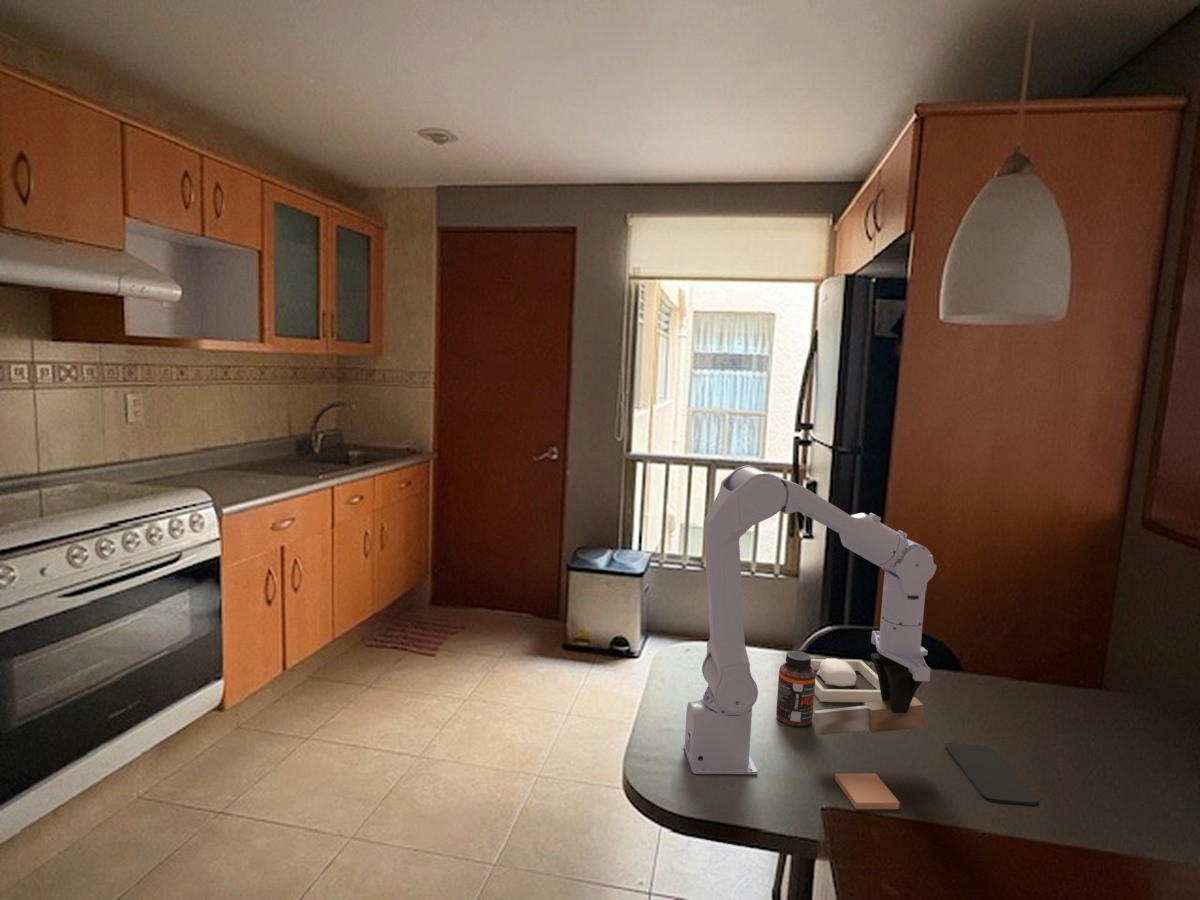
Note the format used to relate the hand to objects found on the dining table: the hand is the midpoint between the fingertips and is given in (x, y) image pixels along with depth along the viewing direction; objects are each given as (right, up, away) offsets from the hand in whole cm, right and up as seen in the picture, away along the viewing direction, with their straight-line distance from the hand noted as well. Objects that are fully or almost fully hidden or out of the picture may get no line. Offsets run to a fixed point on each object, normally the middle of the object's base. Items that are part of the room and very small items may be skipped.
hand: (894, 707), depth 105 cm
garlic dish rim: (+2, -6, +28) cm, 29 cm away
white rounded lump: (+2, -6, +30) cm, 31 cm away
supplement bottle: (-11, -7, +13) cm, 19 cm away
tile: (-8, -9, -4) cm, 12 cm away
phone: (+13, -10, -1) cm, 17 cm away
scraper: (-4, -3, 0) cm, 5 cm away
